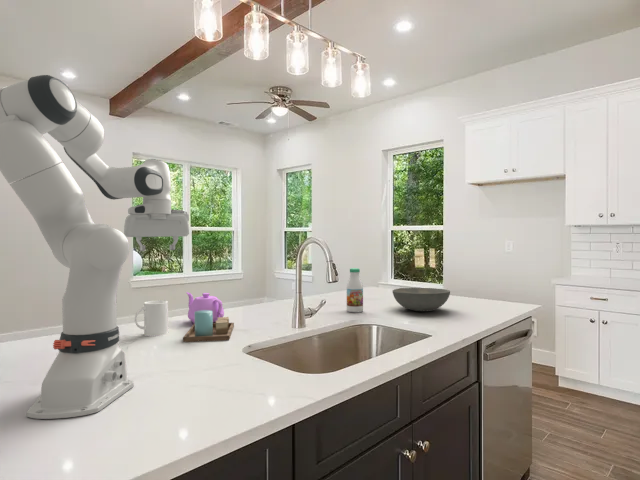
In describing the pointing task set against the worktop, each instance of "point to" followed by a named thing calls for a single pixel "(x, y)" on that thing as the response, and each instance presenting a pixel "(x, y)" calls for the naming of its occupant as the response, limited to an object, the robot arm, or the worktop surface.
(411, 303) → the bowl
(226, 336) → the walnut tray
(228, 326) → the oak block
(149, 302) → the mug
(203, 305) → the teapot
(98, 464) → the worktop surface
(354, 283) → the milk bottle
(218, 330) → the oak block
